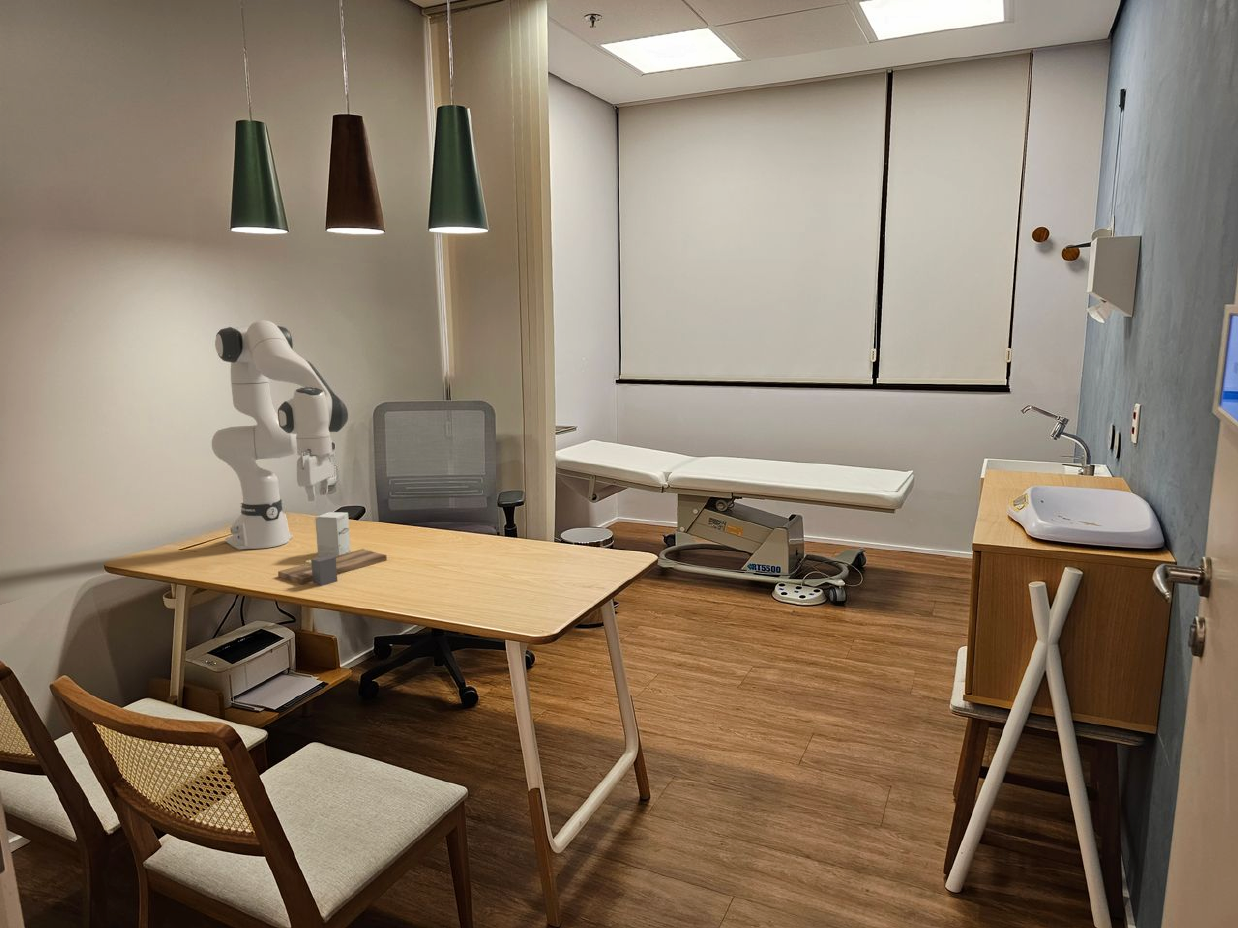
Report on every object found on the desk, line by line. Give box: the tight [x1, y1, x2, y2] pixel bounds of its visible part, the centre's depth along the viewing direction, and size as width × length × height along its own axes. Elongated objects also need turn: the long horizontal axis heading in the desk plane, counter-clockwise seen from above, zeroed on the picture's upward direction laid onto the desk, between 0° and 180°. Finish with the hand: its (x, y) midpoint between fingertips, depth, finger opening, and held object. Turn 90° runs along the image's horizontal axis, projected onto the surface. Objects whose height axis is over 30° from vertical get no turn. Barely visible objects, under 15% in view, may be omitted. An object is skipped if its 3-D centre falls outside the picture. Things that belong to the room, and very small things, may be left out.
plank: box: [277, 548, 388, 586], centre depth 237 cm, size 12×28×2 cm, turn 142°
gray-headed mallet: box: [304, 555, 338, 587], centre depth 225 cm, size 10×5×7 cm, turn 52°
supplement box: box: [314, 511, 352, 557], centre depth 251 cm, size 7×7×13 cm
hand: (318, 497), depth 222 cm, fingers open, 8 cm apart
